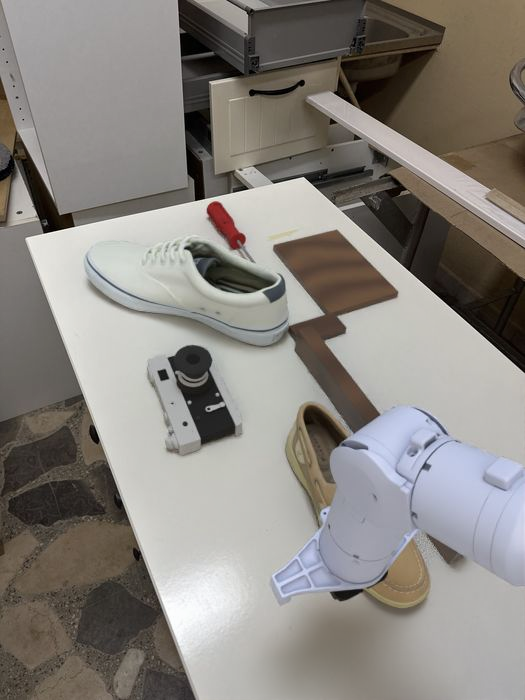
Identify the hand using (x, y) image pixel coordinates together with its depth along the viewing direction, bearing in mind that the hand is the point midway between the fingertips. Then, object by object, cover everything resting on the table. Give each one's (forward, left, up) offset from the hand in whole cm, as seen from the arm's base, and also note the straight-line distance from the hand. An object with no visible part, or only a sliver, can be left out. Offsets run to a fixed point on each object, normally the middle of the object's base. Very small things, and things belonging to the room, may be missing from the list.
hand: (334, 587), depth 50 cm
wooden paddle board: (+28, -27, -7) cm, 39 cm away
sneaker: (+50, -4, -7) cm, 51 cm away
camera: (+31, +3, -7) cm, 32 cm away
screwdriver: (+60, -18, -7) cm, 63 cm away
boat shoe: (+8, -8, -7) cm, 13 cm away
